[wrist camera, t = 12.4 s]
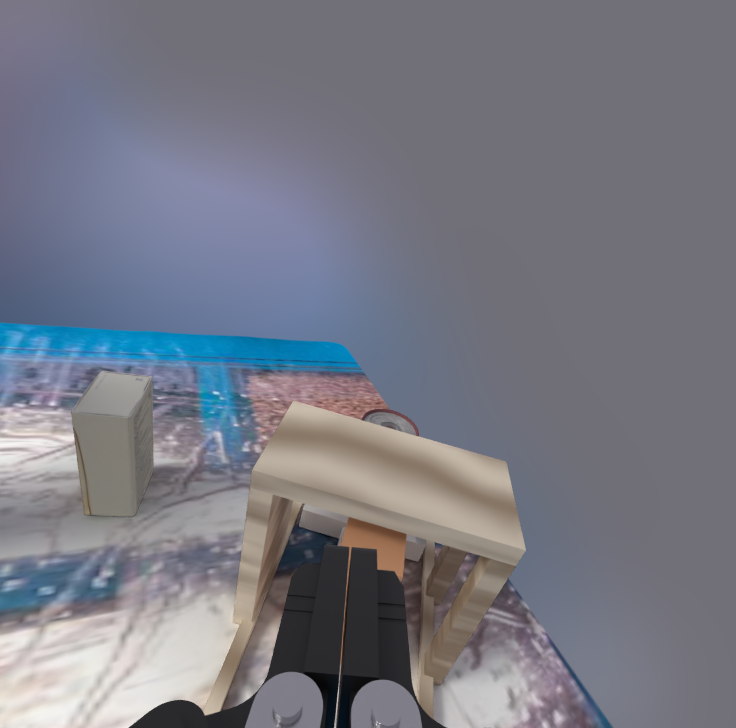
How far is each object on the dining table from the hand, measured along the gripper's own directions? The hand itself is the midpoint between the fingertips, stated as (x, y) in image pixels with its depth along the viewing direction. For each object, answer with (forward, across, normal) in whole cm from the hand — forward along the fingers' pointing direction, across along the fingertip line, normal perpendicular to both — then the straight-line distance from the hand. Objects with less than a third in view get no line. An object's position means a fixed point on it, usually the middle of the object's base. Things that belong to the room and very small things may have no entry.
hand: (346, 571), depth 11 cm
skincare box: (+25, +22, +17) cm, 38 cm away
